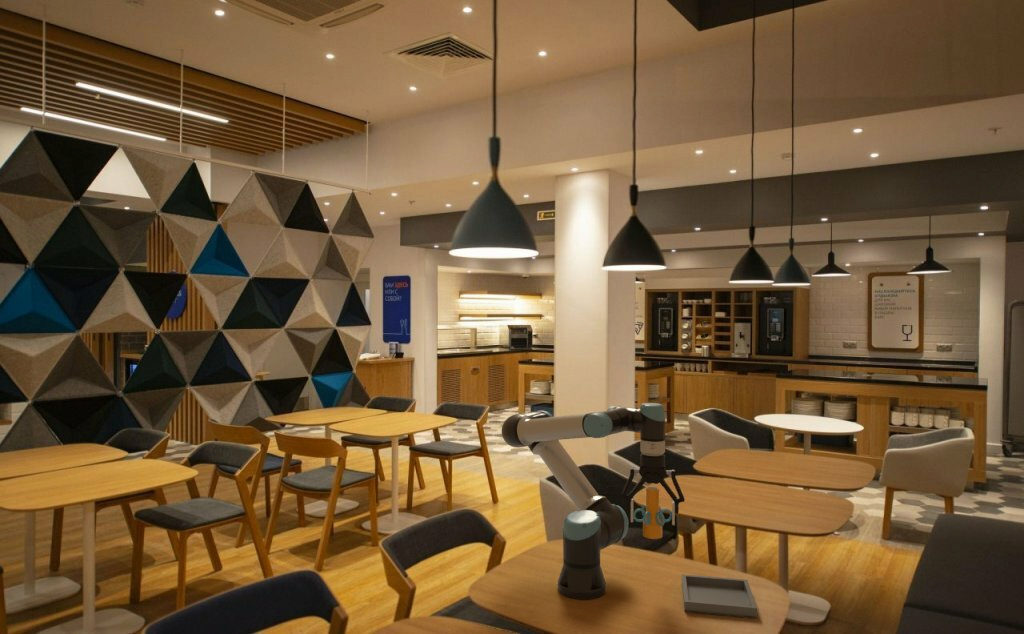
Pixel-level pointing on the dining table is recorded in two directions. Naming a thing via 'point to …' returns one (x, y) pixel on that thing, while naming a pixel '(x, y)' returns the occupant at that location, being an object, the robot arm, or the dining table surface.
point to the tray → (718, 596)
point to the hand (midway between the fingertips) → (652, 522)
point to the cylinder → (652, 515)
